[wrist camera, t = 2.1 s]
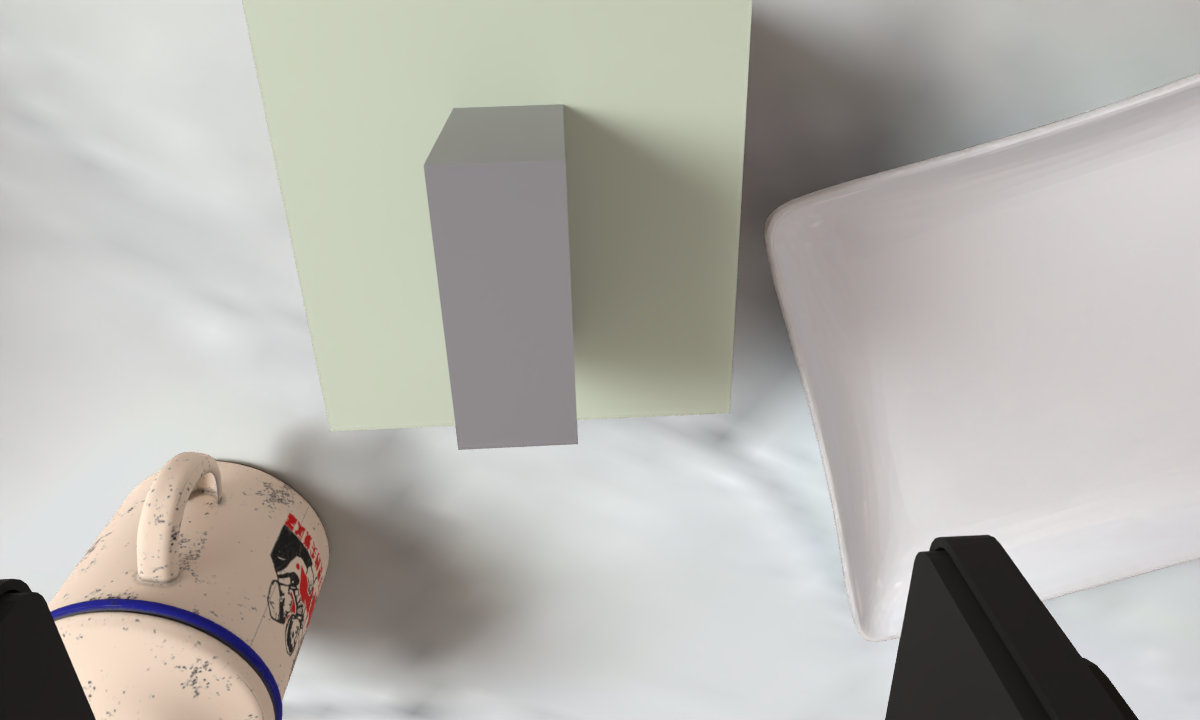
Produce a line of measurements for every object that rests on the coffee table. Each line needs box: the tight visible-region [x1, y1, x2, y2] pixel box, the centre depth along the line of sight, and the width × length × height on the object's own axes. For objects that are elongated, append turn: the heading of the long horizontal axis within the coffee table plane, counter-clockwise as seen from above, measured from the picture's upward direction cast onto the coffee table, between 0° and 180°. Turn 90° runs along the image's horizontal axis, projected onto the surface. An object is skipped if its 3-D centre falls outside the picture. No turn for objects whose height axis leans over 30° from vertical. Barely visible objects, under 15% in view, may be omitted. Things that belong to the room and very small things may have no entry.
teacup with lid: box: [48, 452, 329, 720], centre depth 30 cm, size 12×9×12 cm
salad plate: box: [764, 73, 1200, 642], centre depth 33 cm, size 21×21×3 cm
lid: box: [242, 0, 752, 450], centre depth 19 cm, size 11×11×6 cm
